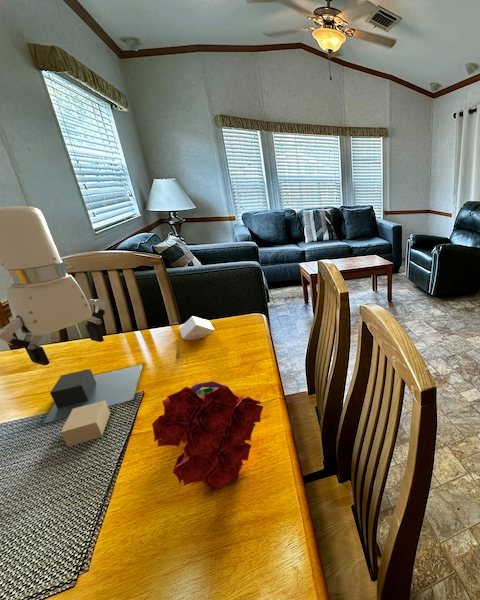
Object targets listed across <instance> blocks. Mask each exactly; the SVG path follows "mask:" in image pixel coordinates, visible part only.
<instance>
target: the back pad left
mask: <svg viewBox="0 0 480 600" xmlns="http://www.w3.org/2000/svg"><path fill="white" fill-rule="evenodd" d="M95 385H96V381H95V379H94V374H93V372H92V370H91V368H87V369H82V370H78V371H74V372H70V373H65V374H62V375H60V377H59V378H58V380H57V381H56V383H55V384H54V386H53V388H52V389H51V391H50V392H49V394H50V396H51V398H52V401H53V402H54V404H56V406H57V408H61V407H65V406H69V405H73V404H77V403H81V402H85V401H88V400H89V398H90V396H91V394H92V392H93V389H94V387H95Z"/></svg>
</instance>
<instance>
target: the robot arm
mask: <svg viewBox="0 0 480 600" xmlns="http://www.w3.org/2000/svg"><path fill="white" fill-rule="evenodd" d="M0 263H1V266H2V268H3V269H4V272H5V274H6V276H7V278H8V280H9V283H10V284H8V285H6V286H5V292H6V299H7V302H8V307H9V310H10V313H11V315H12V318H13V319H12V320H11V321H10V322H9V323H7V324H6V325H5V326H3V327H2V328H1V329H0V341H2V342H4V343H6V344H8V345H11V346H14V347H18V348H19V347H20V348H23V349H25V352H26V353H27V355H28V357H29V359H30V361H31V363H33V364H37V365H41V366H45V367H46V366H48V365H50V363H51V362H50V360H49V358H48V356H47V353H46V352H45V349H44V347H43V346H40V345H39V343H40V342H41V340H42V339H43V336H45V335H49V334H51V333H55V332H57V331H60V330H63V329H66V328H69V327H71V326H74V325H78V324H79V323H82V322H85V328H86V331H87V334H88V335H89V338H90V340H91V341H94V342H98V343H102V342H105V338H104V337H103V336H104V332H103V329H102V327H101V324H102V319H103V317H104V315H105V314H106V311H105V310H106V306H107V301H106V300H104V299H98V298H97V299H96V298H95V299H94V298H87V297H86V296H85V293H84V292H83V289H82V288H81V287H80V285H79V284H78V282H77V281H76V279H75V278H74V277H73V276H72V274H68V269H70V268H72V267H73V265H72V263H71V262H70V261H69V260H67V261H64V260H62V258H61V256H60V254H59V251H58V248H57V246H56V244H55V241H54V239H53V236H52V234H51V232H50V229H49V227H48V224H47V222H46V219H45V216H44V215H43V213H42V211H41V210H40V209H38V208H36V207H34V206H28V205H15V206H14V205H13V206H0ZM91 306H94V310H93V311H92V308H91ZM17 331H19V332H20V333H21V334H24V335H23V336H22V339H19V338H17V337H15V336H14V334H15V333H16V332H17Z"/></svg>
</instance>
